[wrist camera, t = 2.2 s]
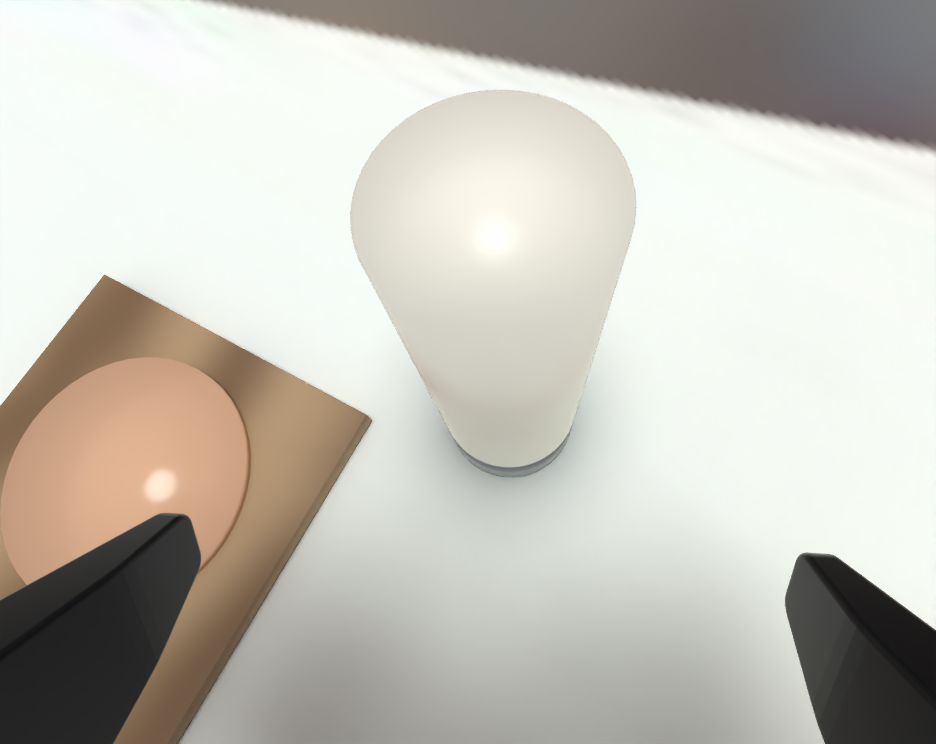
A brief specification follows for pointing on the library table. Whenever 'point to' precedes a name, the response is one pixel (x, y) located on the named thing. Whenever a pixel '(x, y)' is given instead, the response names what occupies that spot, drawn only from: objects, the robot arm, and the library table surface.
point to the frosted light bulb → (497, 262)
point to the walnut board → (267, 499)
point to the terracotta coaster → (124, 463)
